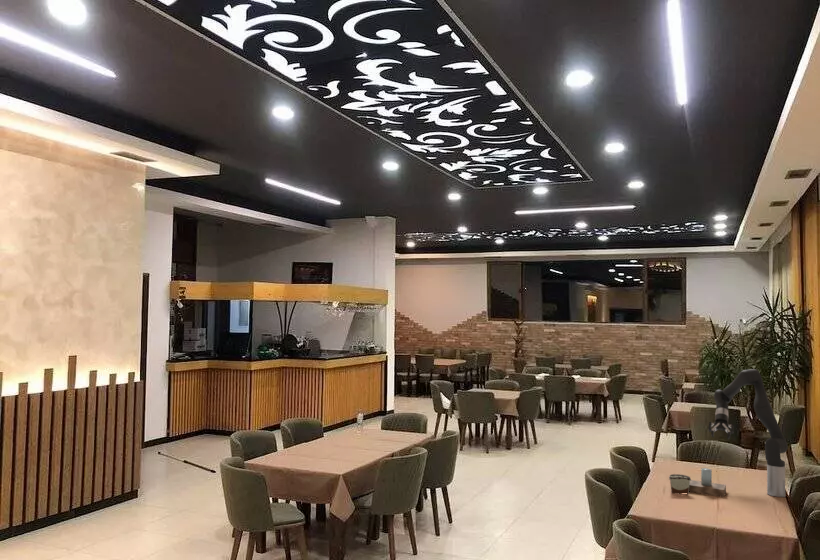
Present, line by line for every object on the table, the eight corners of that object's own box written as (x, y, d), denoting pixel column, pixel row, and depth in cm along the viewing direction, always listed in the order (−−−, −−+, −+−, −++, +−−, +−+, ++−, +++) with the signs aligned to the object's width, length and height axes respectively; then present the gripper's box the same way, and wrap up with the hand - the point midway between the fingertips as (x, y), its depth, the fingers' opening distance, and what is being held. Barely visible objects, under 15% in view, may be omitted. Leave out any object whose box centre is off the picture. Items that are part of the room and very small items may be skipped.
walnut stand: (725, 491, 381) (725, 484, 381) (724, 497, 369) (724, 490, 369) (689, 486, 391) (689, 479, 391) (686, 491, 379) (686, 484, 379)
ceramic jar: (711, 484, 381) (711, 469, 382) (711, 486, 376) (711, 470, 377) (701, 482, 384) (701, 467, 384) (700, 484, 379) (700, 469, 379)
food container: (687, 491, 379) (687, 474, 379) (691, 494, 373) (691, 477, 373) (666, 490, 380) (666, 473, 380) (669, 493, 374) (669, 476, 374)
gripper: (709, 411, 412) (707, 432, 401) (733, 414, 404) (733, 435, 394) (709, 419, 416) (708, 439, 405) (734, 421, 409) (733, 442, 398)
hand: (720, 437), depth 400 cm, fingers open, 8 cm apart
